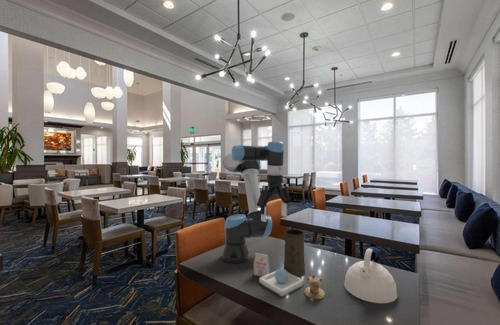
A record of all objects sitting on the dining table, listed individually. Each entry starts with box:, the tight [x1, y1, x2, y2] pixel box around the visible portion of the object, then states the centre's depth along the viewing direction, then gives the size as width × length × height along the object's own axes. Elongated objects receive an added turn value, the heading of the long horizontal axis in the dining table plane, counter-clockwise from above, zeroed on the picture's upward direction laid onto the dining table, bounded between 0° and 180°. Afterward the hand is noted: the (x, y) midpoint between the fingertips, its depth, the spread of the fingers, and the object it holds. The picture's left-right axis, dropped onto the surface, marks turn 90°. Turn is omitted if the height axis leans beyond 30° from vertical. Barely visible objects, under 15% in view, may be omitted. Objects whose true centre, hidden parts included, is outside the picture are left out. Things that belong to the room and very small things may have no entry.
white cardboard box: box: [253, 252, 271, 277], centre depth 117 cm, size 4×7×10 cm, turn 65°
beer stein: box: [283, 229, 306, 277], centre depth 123 cm, size 15×11×20 cm
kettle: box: [343, 246, 398, 304], centre depth 104 cm, size 20×21×18 cm
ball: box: [274, 267, 288, 283], centre depth 108 cm, size 6×6×6 cm
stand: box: [304, 274, 326, 300], centre depth 101 cm, size 8×8×7 cm
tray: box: [258, 270, 305, 297], centre depth 109 cm, size 14×14×2 cm
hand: (274, 218), depth 117 cm, fingers open, 13 cm apart
